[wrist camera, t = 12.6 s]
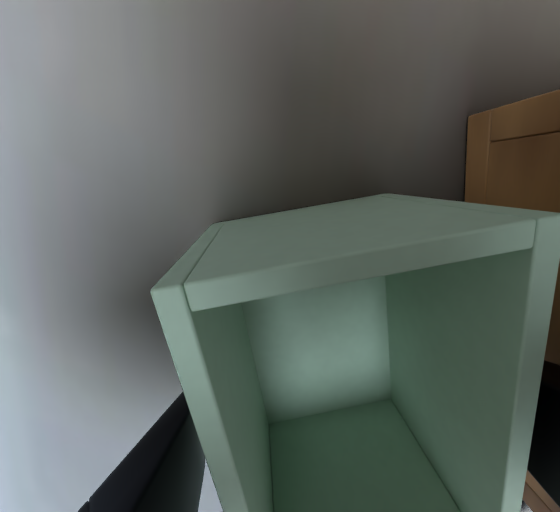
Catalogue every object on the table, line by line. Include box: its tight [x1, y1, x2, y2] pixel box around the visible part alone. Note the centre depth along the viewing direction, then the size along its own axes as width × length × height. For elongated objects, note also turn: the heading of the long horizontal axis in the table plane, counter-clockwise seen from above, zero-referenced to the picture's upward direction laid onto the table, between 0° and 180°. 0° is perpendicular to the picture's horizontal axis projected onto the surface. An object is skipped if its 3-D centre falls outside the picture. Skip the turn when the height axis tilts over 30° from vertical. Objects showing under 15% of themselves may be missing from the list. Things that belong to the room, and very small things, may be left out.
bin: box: [150, 193, 560, 512], centre depth 8 cm, size 10×7×6 cm
